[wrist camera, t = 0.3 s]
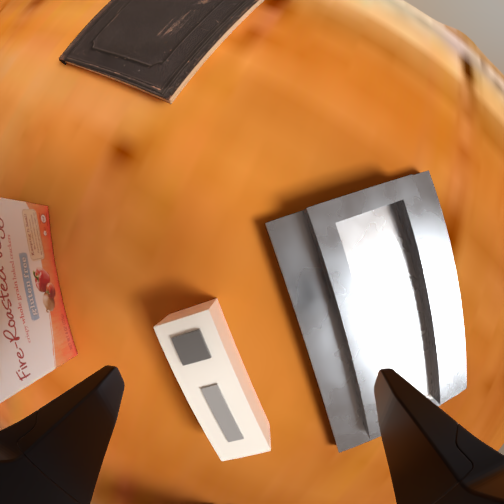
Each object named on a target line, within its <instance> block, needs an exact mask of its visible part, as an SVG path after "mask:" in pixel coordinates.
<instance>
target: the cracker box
mask: <svg viewBox="0 0 504 504" xmlns="http://www.w3.org/2000/svg"><path fill="white" fill-rule="evenodd" d="M77 354H78V353H77V351H76V348H75V345H74V341H73V338H72V335H71V331H70V328H69V324H68V320H67V317H66V313H65V309H64V305H63V301H62V296H61V291H60V287H59V282H58V277H57V271H56V266H55V260H54V254H53V247H52V240H51V232H50V223H49V213H48V206H45V205H39V204H34V203H29V202H24V201H18V200H11V199H6V198H0V403H1V402H3V401H4V400H6V399H8V398H9V397H11V396H13V395H14V394H16V393H17V392H19V391H21V390H22V389H24V388H25V387H27V386H29V385H30V384H32V383H33V382H35V381H37V380H38V379H40V378H42V377H43V376H45V375H46V374H48V373H49V372H51V371H53V370H54V369H56V368H57V367H59V366H60V365H62V364H64V363H65V362H67V361H68V360H70V359H71V358H73V357H75V356H76V355H77Z"/></svg>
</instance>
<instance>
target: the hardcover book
mask: <svg viewBox="0 0 504 504" xmlns="http://www.w3.org/2000/svg"><path fill="white" fill-rule="evenodd" d="M263 1H264V0H111V1H110V2H109V3H108V4H107V5H106V6H105V7H104V8H103V9H102V10H101V11H100V12H99V13H98V14H97V15H96V16H95V17H94V18H93V19H92V20H91V21H90V22H89V23H88V24H87V25H86V27H85V28H84V29H83V30H82V31H81V32H80V33H79V34H78V36H77V37H76V38H75V39H74V40H73V41H72V43H71V44H70V45H69V46H68V47H67V49H66V50H65V51H64V52H63V54H62V55H61V56H60V58H59V60H60V61H61V62H62V63H63V64H64V65H66V64H67V63H68V64H71V65H74V66H77V67H80V68H83V69H86V70H89V71H92V72H95V73H97V74H100V75H103V76H105V77H108V78H111V79H113V80H116V81H119V82H121V83H124V84H126V85H129V86H131V87H133V88H136V89H138V90H141V91H143V92H145V93H148V94H150V95H152V96H155V97H157V98H159V99H162V100H164V101H166V102H168V103H170V104H172V102H173V101H174V100H175V98H176V97H177V96H178V94H179V93H180V92H181V91H182V89H183V88H184V87H185V85H186V84H187V83H188V82H189V80H190V79H191V78H192V77H193V75H194V74H195V73H196V72H197V71H198V69H199V68H200V67H201V66H202V65H203V63H204V62H205V61H206V60H207V59H208V58H209V56H210V55H211V54H212V53H213V52H214V51H215V50H216V48H217V47H218V46H219V45H220V44H221V43H222V42H223V41H224V40H225V39H226V38H227V36H228V35H229V34H230V33H231V32H232V31H233V30H234V29H235V28H236V27H237V26H238V25H239V24H240V23H241V22H242V21H243V20H244V19H245V18H246V17H247V16H248V15H249V14H250V13H251V12H252V11H253V10H254V9H255V8H256V7H258V6H259V5H260V4H261V3H262V2H263Z"/></svg>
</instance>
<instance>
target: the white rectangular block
mask: <svg viewBox="0 0 504 504" xmlns="http://www.w3.org/2000/svg"><path fill="white" fill-rule="evenodd" d="M153 328H154V330H155V333H156V335H157V337H158V340H159V342H160V344H161V347H162V349H163V351H164V353H165V356H166V358H167V360H168V362H169V364H170V366H171V369H172V371H173V373H174V375H175V377H176V379H177V381H178V383H179V385H180V387H181V389H182V391H183V393H184V395H185V397H186V399H187V401H188V403H189V405H190V407H191V409H192V410H193V412H194V414H195V416H196V418H197V420H198V422H199V423H200V425H201V427H202V429H203V431H204V432H205V434H206V436H207V437H208V439H209V441H210V443H211V444H212V446H213V448H214V449H215V451H216V453H217V454H218V456H219V458H220V459H221V461H225V460H231V459H236V458H241V457H246V456H250V455H255V454H259V453H263V452H267V451H271V441H270V424H269V422H268V420H267V417H266V415H265V413H264V411H263V408H262V406H261V404H260V402H259V399H258V397H257V395H256V392H255V390H254V388H253V386H252V383H251V381H250V379H249V376H248V374H247V371H246V369H245V367H244V364H243V362H242V359H241V357H240V355H239V352H238V350H237V347H236V345H235V342H234V340H233V337H232V335H231V332H230V330H229V327H228V325H227V322H226V320H225V317H224V315H223V312H222V310H221V307H220V304H219V302H218V299H217V298H216V299H213V300H210V301H207V302H204V303H201V304H198V305H195V306H192V307H189V308H186V309H183V310H180V311H177V312H174V313H171V314H169V315H168V316H166V317H165V318H164V319H163V320H161V321H160V322H159V323H158V324H156V325H155V326H154V327H153Z"/></svg>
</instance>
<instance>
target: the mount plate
mask: <svg viewBox="0 0 504 504" xmlns="http://www.w3.org/2000/svg"><path fill="white" fill-rule="evenodd" d="M265 226H266V229H267V232H268V235H269V238H270V240H271V243H272V246H273V249H274V252H275V255H276V258H277V261H278V264H279V267H280V270H281V273H282V276H283V279H284V282H285V285H286V288H287V291H288V294H289V297H290V300H291V303H292V306H293V309H294V312H295V315H296V318H297V321H298V324H299V327H300V330H301V333H302V336H303V339H304V342H305V346H306V349H307V352H308V355H309V358H310V361H311V364H312V368H313V371H314V374H315V377H316V380H317V383H318V387H319V390H320V393H321V396H322V400H323V403H324V406H325V409H326V413H327V416H328V419H329V422H330V426H331V429H332V432H333V436H334V439H335V442H336V446H337V448H338V451H339V452H342V451H345V450H348V449H350V448H353V447H355V446H358V445H360V444H363V443H365V442H368V441H370V440H372V439H375V438H377V437H379V436H381V433H380V428H379V422H378V415H377V408H376V401H375V395H374V385H375V381H376V378H377V375H378V372H379V370H380V369H384V368H392V369H394V370H395V371H396V372H397V373H398V374H400V375H401V376H402V377H403V378H404V379H406V380H407V381H408V382H409V383H410V384H412V385H413V386H414V387H415V388H416V389H418V390H419V391H420V392H421V393H422V394H424V395H425V396H426V397H427V398H428V399H430V400H431V401H432V402H433V403H434V404H436V405H437V406H439V405H441V404H443V403H444V402H446V401H448V400H449V399H451V398H452V397H454V396H455V395H457V394H459V393H460V392H462V391H463V390H465V389H466V388H467V369H466V346H465V332H464V322H463V313H462V305H461V297H460V291H459V284H458V279H457V273H456V268H455V263H454V258H453V253H452V249H451V244H450V240H449V236H448V232H447V228H446V224H445V221H444V217H443V213H442V210H441V207H440V203H439V200H438V197H437V194H436V191H435V187H434V184H433V182H432V179H431V176H430V173H429V171H425V172H422V173H419V174H415V175H408V176H405V177H402V178H399V179H395V180H392V181H389V182H386V183H382V184H379V185H376V186H373V187H370V188H366V189H363V190H360V191H357V192H354V193H351V194H348V195H345V196H341V197H338V198H335V199H332V200H329V201H326V202H323V203H320V204H317V205H314V206H311V207H308V208H306V209H304V210H303V211H300V212H297V213H294V214H291V215H288V216H285V217H282V218H279V219H276V220H273V221H270V222H267V223H265Z"/></svg>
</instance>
